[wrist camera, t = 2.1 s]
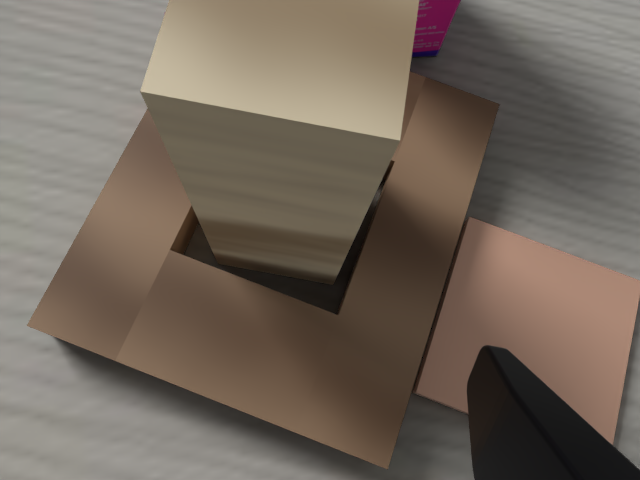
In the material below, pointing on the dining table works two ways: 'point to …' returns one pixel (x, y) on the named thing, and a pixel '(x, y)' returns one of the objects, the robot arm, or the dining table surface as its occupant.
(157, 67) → the maple block
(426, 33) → the supplement box
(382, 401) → the pocket board
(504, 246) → the terracotta tile
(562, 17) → the dining table surface
